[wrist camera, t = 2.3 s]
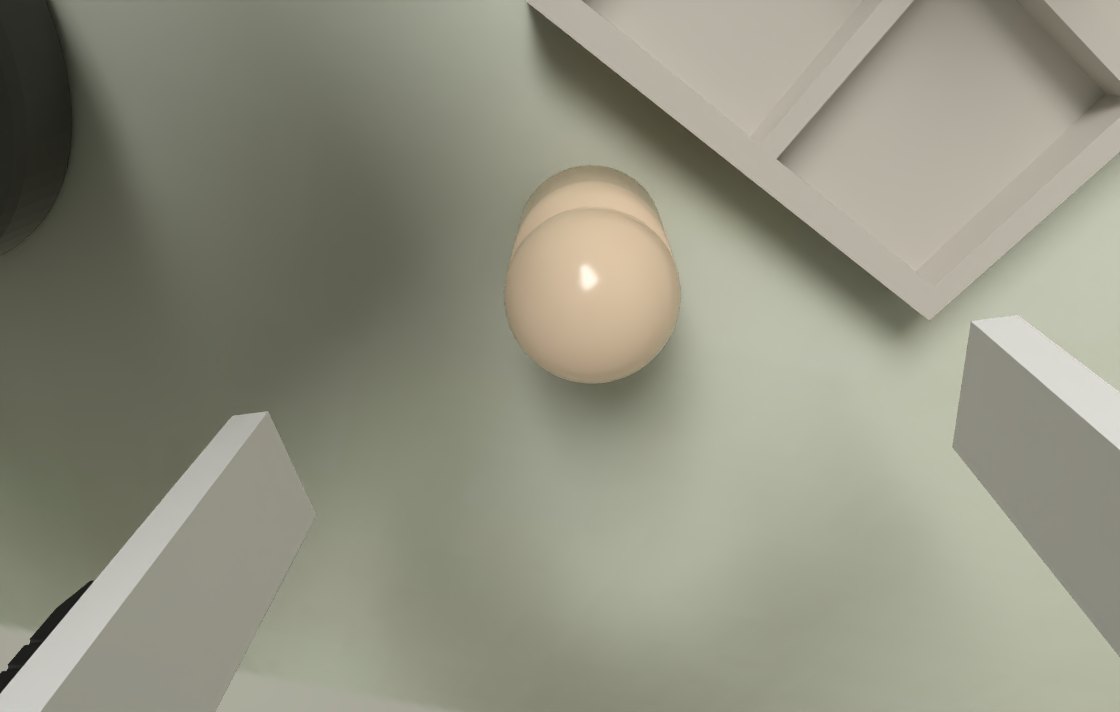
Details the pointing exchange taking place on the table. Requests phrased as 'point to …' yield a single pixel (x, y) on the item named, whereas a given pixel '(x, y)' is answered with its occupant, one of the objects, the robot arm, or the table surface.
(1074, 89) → the divided tray
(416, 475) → the table surface
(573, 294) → the egg
